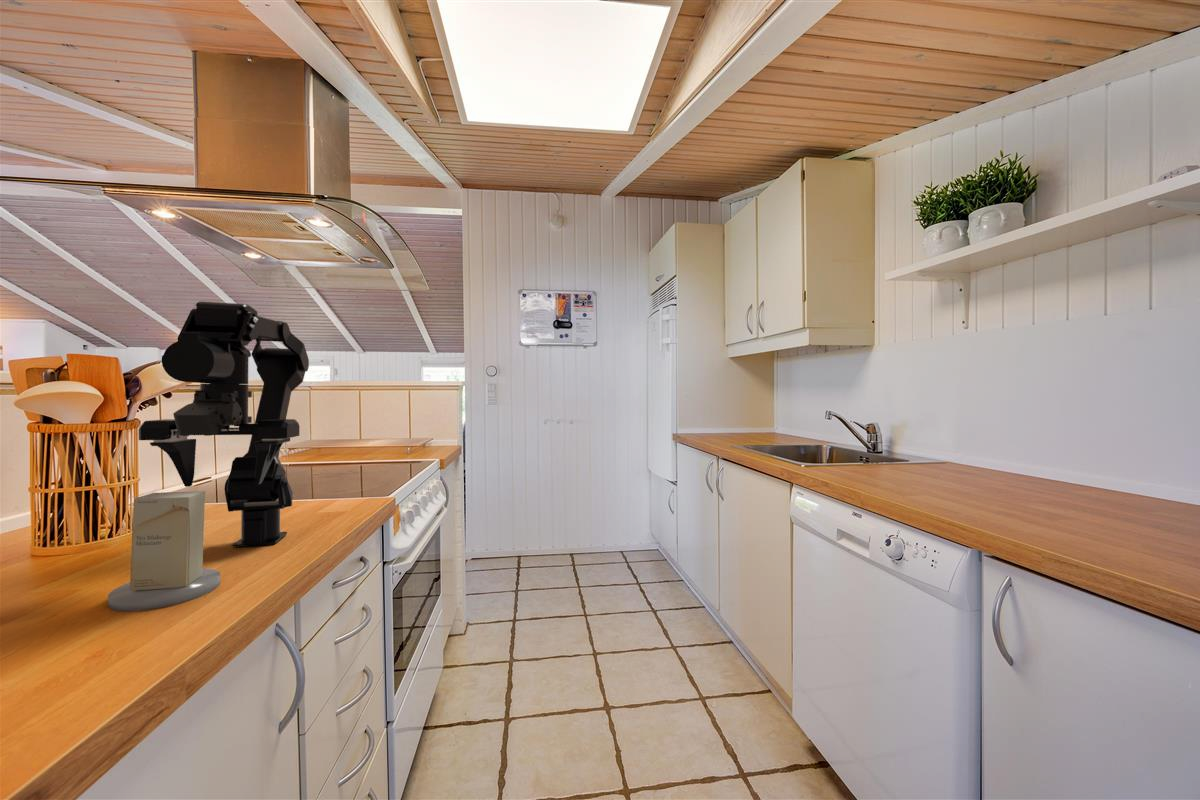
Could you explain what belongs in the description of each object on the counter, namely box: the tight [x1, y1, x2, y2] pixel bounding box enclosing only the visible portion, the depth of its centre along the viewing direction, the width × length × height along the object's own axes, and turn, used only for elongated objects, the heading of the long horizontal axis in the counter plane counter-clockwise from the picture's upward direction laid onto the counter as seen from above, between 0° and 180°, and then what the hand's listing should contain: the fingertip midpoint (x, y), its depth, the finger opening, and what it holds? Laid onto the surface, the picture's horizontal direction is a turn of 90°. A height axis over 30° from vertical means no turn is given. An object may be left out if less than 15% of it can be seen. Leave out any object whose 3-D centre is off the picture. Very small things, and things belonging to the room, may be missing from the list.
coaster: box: [107, 567, 221, 612], centre depth 62 cm, size 11×11×1 cm
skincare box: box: [129, 490, 206, 591], centre depth 62 cm, size 6×4×12 cm
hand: (224, 485), depth 70 cm, fingers open, 9 cm apart
